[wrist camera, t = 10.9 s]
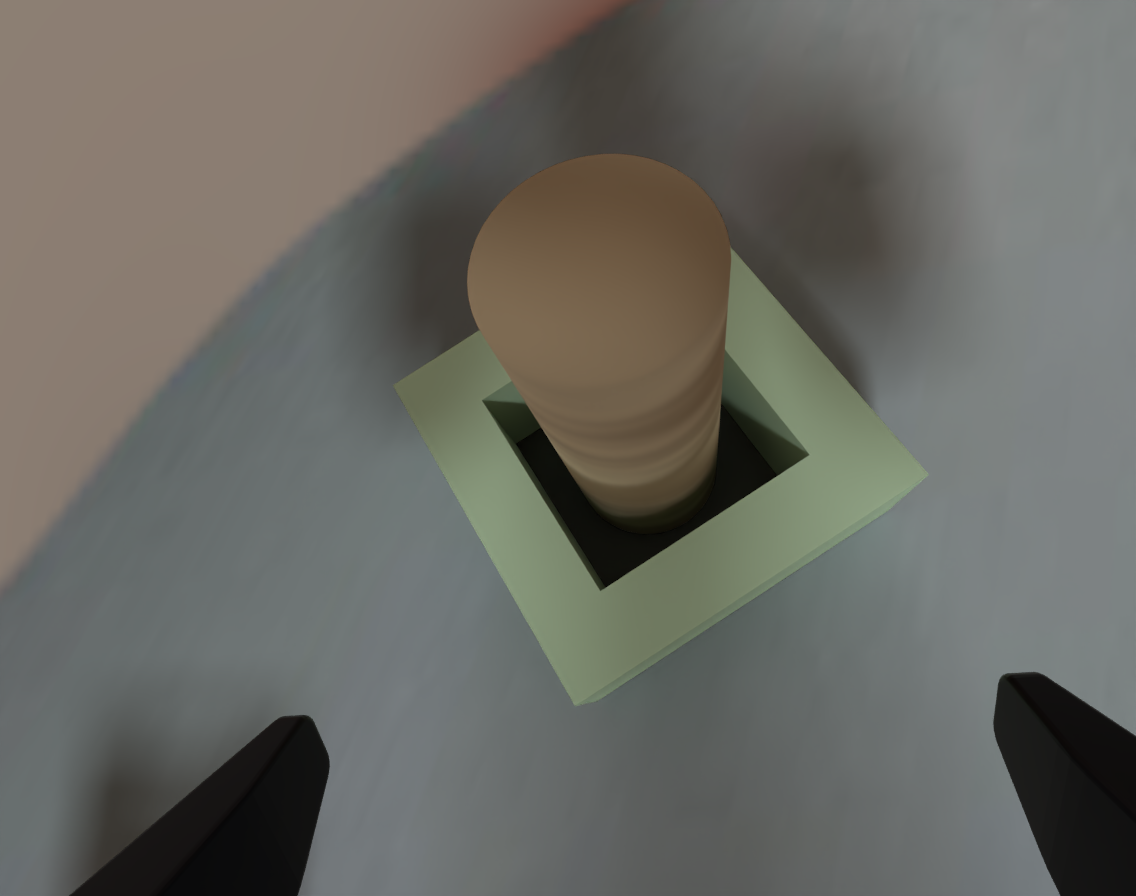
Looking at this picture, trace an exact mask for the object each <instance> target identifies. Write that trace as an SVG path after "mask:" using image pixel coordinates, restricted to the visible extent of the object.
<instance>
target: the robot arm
mask: <svg viewBox="0 0 1136 896" xmlns="http://www.w3.org/2000/svg"><path fill="white" fill-rule="evenodd" d="M993 725H994V733H995V737H996V741H997V744H998V746H999V749H1000V751H1001V754H1002V756H1003V759H1004V761H1005V764H1006V767H1007V769H1008V772H1009V774H1010V777H1011V779H1012V782H1013V784H1014V787H1015V789H1016V792H1017V794H1018V797H1019V799H1020V802H1021V804H1022V807H1023V810H1024V812H1025V815H1026V817H1027V820H1028V822H1029V825H1030V827H1031V830H1032V832H1033V835H1034V837H1035V840H1036V842H1037V845H1038V848H1039V850H1040V852H1041V855H1042V857H1043V859H1044V862H1045V864H1046V867H1047V869H1048V871H1049V873H1050V875H1051V877H1052V879H1053V881H1054V883H1055V885H1056V888H1057V890H1058V892H1059V894H1060V896H1136V736H1135V735H1134V734H1132V733H1131V732H1129V731H1128V730H1126V729H1125V728H1123V727H1122V726H1120V725H1119V724H1117V723H1116V722H1114V721H1113V720H1111V719H1110V718H1108V717H1107V716H1105V715H1104V714H1102V713H1101V712H1099V711H1098V710H1096V709H1095V708H1093V707H1092V706H1090V705H1089V704H1087V703H1086V702H1084V701H1083V700H1081V699H1079V698H1078V697H1076V696H1075V695H1073V694H1072V693H1070V692H1069V691H1067V690H1066V689H1064V688H1063V687H1061V686H1060V685H1058V684H1057V683H1055V682H1054V681H1052V680H1051V679H1049V678H1048V677H1046V676H1045V675H1043V674H1040V673H1037V672H1024V673H1007V674H1004V675H1003V676H1001V678H1000V680H999V683H998V690H997V698H996V705H995V713H994V722H993ZM329 768H330V761H329V756H328V753H327V750H326V748H325V746H324V743H323V741H322V739H321V737H320V734H319V732H318V730H317V727H316V725H315V723H314V721H313V719H312V718H310V717H309V716H307V715H296V716H283V717H280V718H278V719H277V720H275V721H274V722H273V723H272V724H271V725H269V726H268V727H267V728H266V729H265V730H263V731H262V732H261V733H260V734H259V735H258V736H256V737H255V738H254V739H253V740H252V741H251V742H249V743H248V744H247V745H246V746H245V747H243V748H242V749H241V750H240V751H239V752H238V753H236V754H235V755H234V756H233V757H232V758H231V759H229V760H228V761H227V762H226V763H225V764H223V765H222V766H221V767H220V768H219V769H218V770H216V771H215V772H214V773H213V774H212V775H211V776H209V777H208V778H207V779H206V780H205V781H203V782H202V783H201V784H200V785H199V786H198V787H196V788H195V789H194V790H193V791H192V792H191V793H189V794H188V795H187V796H186V797H185V798H183V799H182V800H181V801H180V802H179V803H178V804H176V805H175V806H174V807H173V808H172V809H171V810H169V811H168V812H167V813H166V814H165V815H163V816H162V817H161V818H160V819H159V820H158V821H156V822H155V823H154V824H153V825H152V826H151V827H149V828H148V829H147V830H146V831H145V832H143V833H142V834H141V835H140V836H139V837H138V838H136V839H135V840H134V841H133V842H132V843H131V844H129V845H128V846H127V847H126V848H125V849H123V850H122V851H121V852H120V853H119V854H118V855H116V856H115V857H114V858H113V859H112V860H111V861H109V862H108V863H107V864H106V865H105V866H103V867H102V868H101V869H100V870H99V871H98V872H96V873H95V874H94V875H93V876H92V877H90V878H89V879H88V880H87V881H86V882H85V883H83V884H82V885H81V886H80V887H79V888H78V889H76V890H75V891H74V892H73V893H72V894H70V895H69V896H297V895H298V892H299V889H300V886H301V883H302V879H303V875H304V872H305V868H306V864H307V860H308V856H309V852H310V848H311V844H312V840H313V836H314V832H315V828H316V824H317V820H318V816H319V812H320V807H321V803H322V799H323V795H324V791H325V787H326V783H327V779H328V775H329Z"/></svg>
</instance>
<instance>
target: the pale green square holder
mask: <svg viewBox="0 0 1136 896" xmlns="http://www.w3.org/2000/svg"><path fill="white" fill-rule="evenodd" d="M730 248H731V247H730ZM393 387H394V388H395V390H396V392H397V394H398V395H399V397H400V399H401V401H402V402H403V404H404V406H405V408H406V410H407V411H408V413H409V415H410V417H411V418H412V420H413V422H414V424H415V425H416V427H417V429H418V431H419V432H420V434H421V436H422V438H423V439H424V441H425V443H426V445H427V446H428V448H429V450H430V452H431V454H432V455H433V457H434V459H435V461H436V462H437V464H438V466H439V468H440V469H441V471H442V473H443V475H444V476H445V478H446V480H447V482H448V483H449V485H450V487H451V489H452V491H453V492H454V494H455V496H456V498H457V499H458V501H459V503H460V505H461V506H462V508H463V510H464V512H465V513H466V515H467V517H468V519H469V520H470V522H471V524H472V526H473V527H474V529H475V531H476V533H477V535H478V536H479V538H480V540H481V542H482V543H483V545H484V547H485V549H486V550H487V552H488V554H489V556H490V557H491V559H492V561H493V563H494V564H495V566H496V568H497V570H498V572H499V573H500V575H501V577H502V579H503V580H504V582H505V584H506V586H507V587H508V589H509V591H510V593H511V594H512V596H513V598H514V600H515V601H516V603H517V605H518V607H519V608H520V610H521V612H522V614H523V616H524V617H525V619H526V621H527V623H528V624H529V626H530V628H531V630H532V631H533V633H534V635H535V637H536V638H537V640H538V642H539V644H540V645H541V647H542V649H543V651H544V652H545V654H546V656H547V658H548V660H549V661H550V663H551V665H552V667H553V668H554V670H555V672H556V674H557V675H558V677H559V679H560V681H561V682H562V684H563V686H564V688H565V689H566V691H567V693H568V695H569V697H570V698H571V700H572V702H573V704H574V705H575V706H578V705H582V704H587V703H592V702H596V701H598V700H600V699H601V698H603V697H604V696H606V695H608V694H609V693H611V692H612V691H614V690H615V689H617V688H618V687H620V686H621V685H623V684H624V683H626V682H627V681H629V680H630V679H632V678H633V677H635V676H637V675H638V674H640V673H641V672H643V671H644V670H646V669H647V668H649V667H650V666H652V665H653V664H655V663H656V662H658V661H659V660H661V659H662V658H664V657H666V656H667V655H669V654H670V653H672V652H673V651H675V650H676V649H678V648H679V647H681V646H682V645H684V644H685V643H687V642H688V641H690V640H692V639H693V638H695V637H696V636H698V635H699V634H701V633H702V632H704V631H705V630H707V629H708V628H710V627H711V626H713V625H714V624H716V623H717V622H719V621H721V620H722V619H724V618H725V617H727V616H728V615H730V614H731V613H733V612H734V611H736V610H737V609H739V608H740V607H742V606H743V605H745V604H746V603H748V602H750V601H751V600H753V599H754V598H756V597H757V596H759V595H760V594H762V593H763V592H765V591H766V590H768V589H769V588H771V587H772V586H774V585H775V584H777V583H779V582H780V581H782V580H783V579H785V578H786V577H788V576H789V575H791V574H792V573H794V572H795V571H797V570H798V569H800V568H801V567H803V566H805V565H806V564H808V563H809V562H811V561H812V560H814V559H815V558H817V557H818V556H820V555H821V554H823V553H824V552H826V551H827V550H829V549H830V548H832V547H834V546H835V545H837V544H838V543H840V542H841V541H843V540H844V539H846V538H847V537H849V536H850V535H852V534H853V533H855V532H856V531H858V530H859V529H861V528H863V527H864V526H866V525H867V524H869V523H870V522H872V521H873V520H875V519H876V518H878V517H879V516H881V515H882V514H884V513H885V512H887V511H888V510H890V509H891V508H892V507H893V506H894V505H895V504H896V503H897V502H899V501H900V500H901V499H902V498H903V497H904V496H905V495H906V494H908V493H909V492H910V491H911V490H912V489H913V488H914V487H915V486H917V485H918V484H919V483H920V482H921V481H922V480H923V479H924V478H925V477H927V476H928V475H929V474H928V473H927V472H926V471H925V470H924V469H923V467H922V466H921V465H920V464H919V463H918V462H917V460H916V459H915V458H914V457H913V456H912V455H911V454H910V452H909V451H908V450H907V449H906V448H905V447H904V446H903V444H902V443H901V442H900V441H899V440H898V439H897V438H896V436H895V435H894V434H893V433H892V432H891V431H890V429H889V428H888V427H887V426H886V425H885V424H884V423H883V421H882V420H881V419H880V418H879V417H878V416H877V415H876V413H875V412H874V411H873V410H872V409H871V408H870V406H869V405H868V404H867V403H866V402H865V401H864V400H863V398H862V397H861V396H860V395H859V394H858V393H857V392H856V390H855V389H854V388H853V387H852V386H851V385H850V384H849V382H848V381H847V380H846V379H845V378H844V377H843V375H842V374H841V373H840V372H839V371H838V370H837V369H836V367H835V366H834V365H833V364H832V363H831V362H830V361H829V359H828V358H827V357H826V356H825V355H824V354H823V352H822V351H821V350H820V349H819V348H818V347H817V346H816V344H815V343H814V342H813V341H812V340H811V339H810V338H809V336H808V335H807V334H806V333H805V332H804V331H803V330H802V328H801V327H800V326H799V325H798V324H797V323H796V321H795V320H794V319H793V318H792V317H791V316H790V315H789V313H788V312H787V311H786V310H785V309H784V308H783V307H782V305H781V304H780V303H779V302H778V301H777V300H776V298H775V297H774V296H773V295H772V294H771V293H770V292H769V290H768V289H767V288H766V287H765V286H764V285H763V284H762V282H761V281H760V280H759V279H758V278H757V277H756V276H755V274H754V273H753V272H752V271H751V270H750V269H749V267H748V266H747V265H746V264H745V263H744V262H743V261H742V259H741V258H740V257H739V256H738V255H737V254H736V253H735V251H734V250H733V249H732V248H731V271H730V285H729V298H728V312H727V326H726V340H725V354H724V368H723V381H722V395H721V404H722V405H723V406H724V408H725V409H726V410H727V411H728V413H729V414H730V415H731V417H732V418H733V419H734V420H735V422H736V423H737V424H738V426H739V427H740V428H741V429H742V431H743V432H744V433H745V435H746V436H747V437H748V438H749V440H750V441H751V442H752V444H753V445H754V446H755V448H756V449H757V450H758V451H759V453H760V454H761V455H762V457H763V458H764V459H765V460H766V462H767V463H768V464H769V466H770V467H771V468H772V469H773V471H774V472H775V473H776V475H777V477H775V478H774V479H772V480H770V481H769V482H767V483H766V484H764V485H763V486H761V487H760V488H758V489H757V490H755V491H754V492H752V493H751V494H749V495H747V496H746V497H744V498H743V499H741V500H740V501H738V502H737V503H735V504H734V505H732V506H731V507H729V508H727V509H726V510H724V511H723V512H721V513H720V514H718V515H717V516H715V517H714V518H712V519H711V520H709V521H707V522H706V523H704V524H703V525H701V526H700V527H698V528H697V529H695V530H694V531H692V532H691V533H689V534H688V535H686V536H684V537H683V538H681V539H680V540H678V541H677V542H675V543H674V544H672V545H671V546H669V547H668V548H666V549H664V550H663V551H661V552H660V553H658V554H657V555H655V556H654V557H652V558H651V559H649V560H648V561H646V562H645V563H643V564H641V565H640V566H638V567H637V568H635V569H634V570H632V571H631V572H629V573H628V574H626V575H625V576H623V577H621V578H620V579H618V580H617V581H615V582H614V583H612V584H611V585H609V586H608V587H605V586H604V584H603V583H602V581H601V579H600V578H599V576H598V575H597V573H596V571H595V570H594V568H593V567H592V565H591V563H590V562H589V560H588V559H587V557H586V555H585V554H584V552H583V551H582V549H581V547H580V546H579V544H578V543H577V541H576V539H575V538H574V536H573V535H572V533H571V531H570V530H569V528H568V527H567V525H566V523H565V522H564V520H563V519H562V517H561V515H560V514H559V512H558V511H557V509H556V507H555V506H554V504H553V503H552V501H551V499H550V498H549V496H548V495H547V493H546V491H545V490H544V488H543V487H542V485H541V483H540V482H539V480H538V479H537V477H536V475H535V474H534V472H533V471H532V469H531V467H530V466H529V464H528V463H527V461H526V459H525V458H524V456H523V455H522V453H521V451H520V450H519V448H518V447H517V445H516V443H518V442H519V441H521V440H522V439H524V438H525V437H527V436H529V435H530V434H532V433H533V432H535V431H536V430H538V429H539V428H541V426H540V425H539V423H538V421H537V420H536V418H535V417H534V415H533V414H532V412H531V410H530V409H529V407H528V406H527V404H526V403H525V401H524V399H523V398H522V396H521V395H520V393H519V392H518V390H517V388H516V387H515V385H514V384H513V382H512V381H511V379H510V377H509V376H508V374H507V373H506V371H505V370H504V368H503V366H502V365H501V363H500V362H499V360H498V359H497V357H496V355H495V354H494V352H493V351H492V349H491V348H490V346H489V344H488V343H487V341H486V340H485V338H484V336H483V335H482V333H481V331H480V330H479V331H477V332H476V333H474V334H472V335H471V336H469V337H468V338H466V339H465V340H463V341H461V342H460V343H458V344H457V345H455V346H454V347H452V348H451V349H449V350H447V351H446V352H444V353H443V354H441V355H440V356H438V357H436V358H435V359H433V360H432V361H430V362H429V363H427V364H425V365H424V366H422V367H421V368H419V369H418V370H416V371H415V372H413V373H411V374H410V375H408V376H407V377H405V378H404V379H402V380H400V381H399V382H397V383H396V384H394V385H393Z"/></svg>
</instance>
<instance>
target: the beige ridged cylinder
mask: <svg viewBox="0 0 1136 896" xmlns="http://www.w3.org/2000/svg"><path fill="white" fill-rule="evenodd" d="M730 271H731V248H730V241H729V237H728V232H727V228H726V226H725V224H724V221H723V219H722V216H721V214H720V212H719V211H718V209H717V207H716V206H715V204H714V202H713V201H712V200H711V199H710V197H709V196H708V195H707V194H706V192H705V191H704V190H703V189H702V188H701V187H700V186H698V185H697V184H696V183H695V182H694V181H693V180H692V179H690V178H689V177H687V176H686V175H684V174H683V173H681V172H680V171H678V170H676V169H674V168H672V167H670V166H668V165H666V164H664V163H661V162H658V161H655V160H652V159H649V158H644V157H640V156H635V155H626V154H598V155H589V156H584V157H579V158H575V159H570V160H567V161H564V162H562V163H559V164H556V165H553V166H551V167H549V168H547V169H545V170H543V171H540V172H539V173H537V174H535V175H534V176H532V177H530V178H529V179H527V180H525V181H524V182H523V183H521V184H520V185H519V186H517V187H516V188H515V189H513V190H512V191H511V192H510V193H509V194H508V195H507V196H506V197H505V198H504V199H503V200H502V201H501V202H500V203H499V204H498V205H497V207H496V208H495V209H494V210H493V211H492V213H491V214H490V215H489V217H488V218H487V220H486V222H485V223H484V225H483V226H482V228H481V230H480V232H479V234H478V236H477V238H476V241H475V243H474V246H473V249H472V252H471V256H470V261H469V266H468V276H467V288H468V299H469V303H470V307H471V311H472V314H473V317H474V319H475V321H476V324H477V326H478V328H479V330H480V331H481V333H482V335H483V336H484V338H485V340H486V341H487V343H488V344H489V346H490V348H491V349H492V351H493V352H494V354H495V355H496V357H497V359H498V360H499V362H500V363H501V365H502V366H503V368H504V370H505V371H506V373H507V374H508V376H509V377H510V379H511V381H512V382H513V384H514V385H515V387H516V388H517V390H518V392H519V393H520V395H521V396H522V398H523V399H524V401H525V403H526V404H527V406H528V407H529V409H530V410H531V412H532V414H533V415H534V417H535V418H536V420H537V421H538V423H539V425H540V426H541V428H542V429H543V431H544V432H545V434H546V436H547V437H548V439H549V440H550V442H551V443H552V445H553V447H554V448H555V450H556V451H557V453H558V454H559V456H560V458H561V459H562V461H563V462H564V464H565V465H566V467H567V469H568V470H569V472H570V473H571V475H572V476H573V478H574V480H575V481H576V483H577V484H578V486H579V487H580V489H581V491H582V492H583V494H584V495H585V497H586V499H587V500H588V502H589V503H590V505H591V506H592V508H593V509H594V510H595V511H596V512H597V513H598V514H599V515H600V516H601V517H602V518H603V519H604V520H606V521H607V522H608V523H610V524H611V525H613V526H615V527H617V528H619V529H622V530H625V531H628V532H632V533H638V534H656V533H663V532H666V531H669V530H672V529H675V528H677V527H679V526H681V525H683V524H684V523H686V522H688V521H689V520H690V519H691V518H693V517H694V516H695V515H696V514H697V513H698V512H699V511H700V510H701V509H702V507H703V506H704V504H705V503H706V502H707V500H708V498H709V496H710V494H711V491H712V489H713V486H714V482H715V477H716V465H717V451H718V437H719V423H720V409H721V395H722V381H723V368H724V354H725V340H726V326H727V312H728V298H729V285H730Z"/></svg>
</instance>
